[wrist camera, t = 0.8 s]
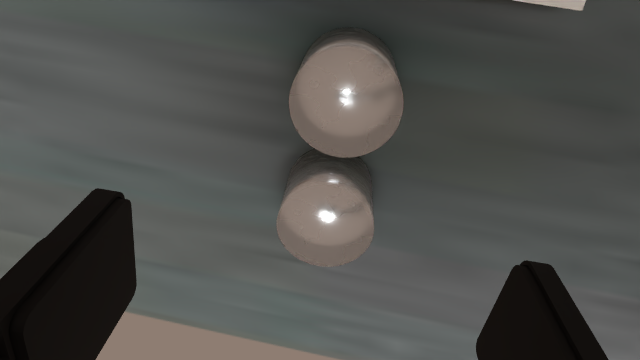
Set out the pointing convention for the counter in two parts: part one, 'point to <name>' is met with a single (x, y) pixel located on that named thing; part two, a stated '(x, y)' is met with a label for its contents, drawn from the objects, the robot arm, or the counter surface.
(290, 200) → the cylinder
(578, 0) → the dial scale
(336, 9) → the counter surface
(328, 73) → the cylinder
